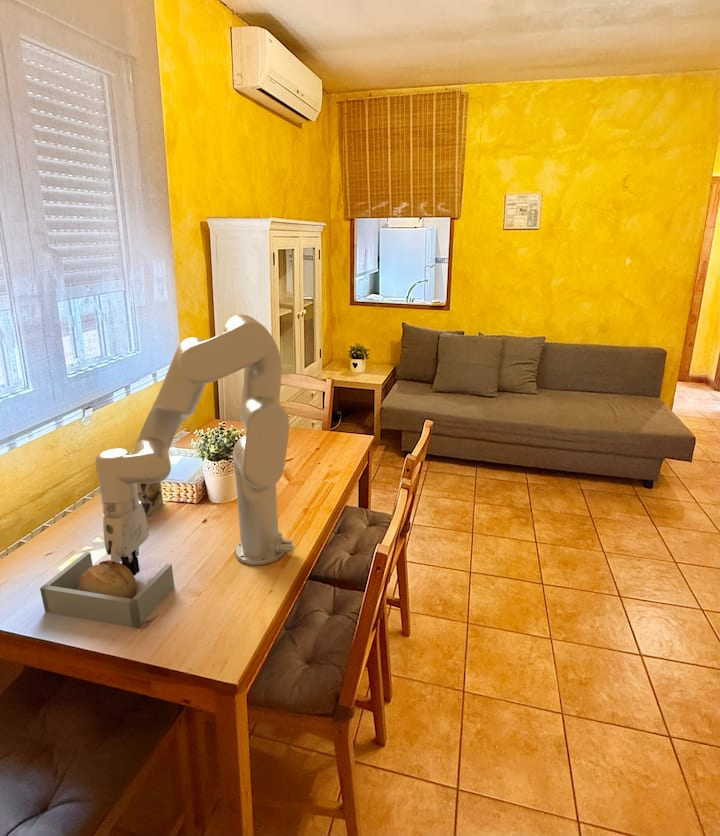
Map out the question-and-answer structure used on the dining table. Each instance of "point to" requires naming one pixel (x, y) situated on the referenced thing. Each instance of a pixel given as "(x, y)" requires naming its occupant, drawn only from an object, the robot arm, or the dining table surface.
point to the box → (103, 596)
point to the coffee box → (150, 496)
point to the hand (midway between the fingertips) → (131, 572)
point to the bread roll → (109, 580)
